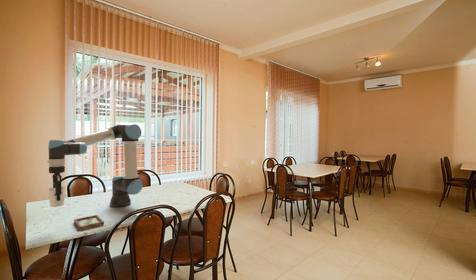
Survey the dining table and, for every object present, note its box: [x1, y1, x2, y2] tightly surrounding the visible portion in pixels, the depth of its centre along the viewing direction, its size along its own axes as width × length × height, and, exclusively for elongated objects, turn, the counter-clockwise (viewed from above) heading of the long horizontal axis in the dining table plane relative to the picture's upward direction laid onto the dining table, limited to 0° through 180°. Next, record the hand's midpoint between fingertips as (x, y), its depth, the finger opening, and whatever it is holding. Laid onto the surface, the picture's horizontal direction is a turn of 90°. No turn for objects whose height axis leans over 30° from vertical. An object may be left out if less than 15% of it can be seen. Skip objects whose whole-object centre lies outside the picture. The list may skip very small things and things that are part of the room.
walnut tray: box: [73, 214, 105, 231], centre depth 151 cm, size 13×16×2 cm
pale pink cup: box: [48, 186, 66, 208], centre depth 141 cm, size 8×8×10 cm
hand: (57, 204), depth 142 cm, fingers closed on pale pink cup, 8 cm apart
